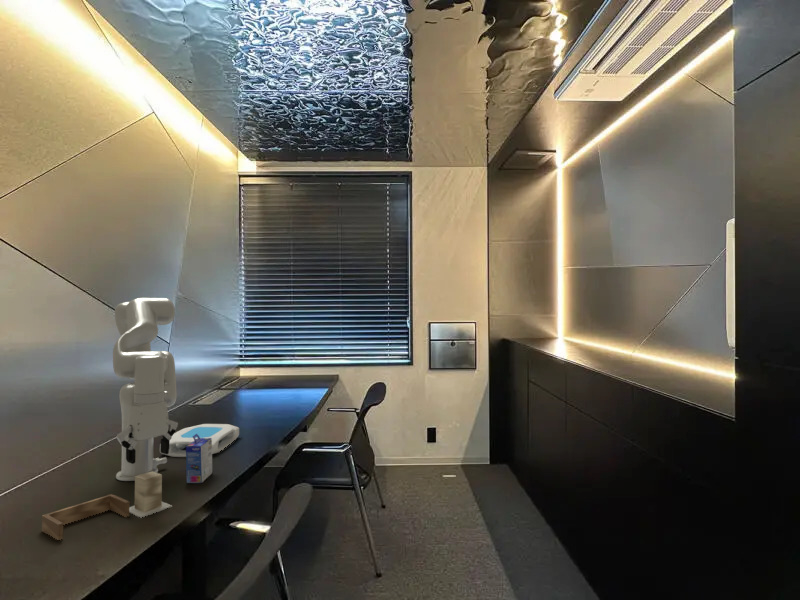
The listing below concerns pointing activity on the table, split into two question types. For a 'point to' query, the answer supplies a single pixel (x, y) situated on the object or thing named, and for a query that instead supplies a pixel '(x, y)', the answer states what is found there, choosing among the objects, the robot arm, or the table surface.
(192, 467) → the ink cartridge box
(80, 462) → the table surface
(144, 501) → the block
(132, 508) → the mat
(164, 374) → the robot arm
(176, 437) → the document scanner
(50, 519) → the u-shaped frame
